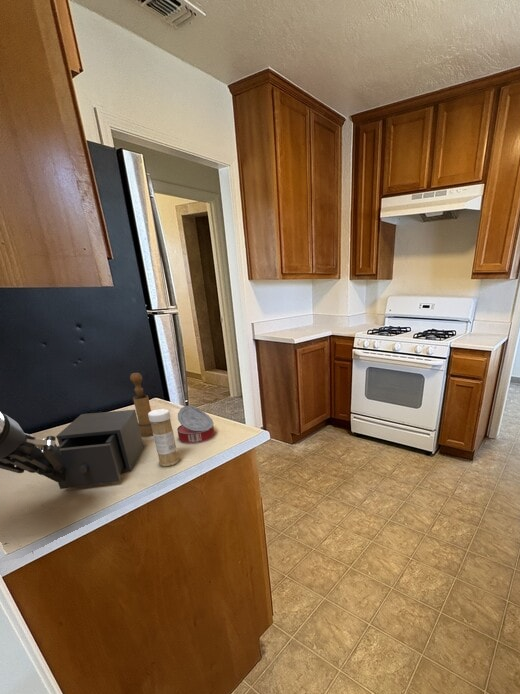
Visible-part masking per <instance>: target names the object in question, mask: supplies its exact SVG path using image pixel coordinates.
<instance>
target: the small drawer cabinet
mask: <svg viewBox="0 0 520 694" xmlns="http://www.w3.org/2000/svg"><path fill="white" fill-rule="evenodd" d="M138 423H139V421H138V417H137V412H136V409H125V410H112V411H104V412H103V411H102V412H101V411H100V412H92V413H82V414H80V415H79V416H77V417H76V418H75V419H74V420H73V421H72V422H70V423H69V424H67V426H66V427H65V428H64V429H62V430H61V431H60V432H59V433H58V434H56V436H55V437H56V439H57V442H58V446H59V445H60V444H61V443H62V442H63V441H64V440H65V439H66V438H76V437H86V436H96V435H106V434H116V433H117V435H118V439H119V443H120V447H121V450H122V454H123V458H124V462H125V466H124V467H123V469H122V471H121V472H120V473H128V472H131V471H132V469H133V468H134V466H135V464H136V462H137V460H138V458H139V456H140V454H141V453H142V451H143V449H144V447H145V445H144V444H145V443H144V440H143V437H142V436H141V432H140V428H139V424H138Z"/></svg>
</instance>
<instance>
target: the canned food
mask: <svg viewBox="0 0 520 694" xmlns="http://www.w3.org/2000/svg"><path fill="white" fill-rule="evenodd" d="M177 420H178V422H179V424H180V425H179V426H177V428H176V431H177V437H178V440H179V442H180V443H184V444H199V443H204V442H207V441H209V440H211V439H213V438H214V437H215V434H216V433H215V428H214V421H213V418H211V416H209V414H207V413H206V412H205V411H203V410H201V409H200V408H199V407H197V406H194V405H185V406H183V407H181V408H179V411H178V412H177Z"/></svg>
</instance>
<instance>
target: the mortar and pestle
mask: <svg viewBox="0 0 520 694" xmlns="http://www.w3.org/2000/svg"><path fill="white" fill-rule="evenodd" d="M129 379H130V381H131V382H132V384H133V385H134V388H133V390H134V393H135V394H136V395H135V396H133V397H132V400H133V405H134V409H135V411H136V415H137V419H138V424H139V428H140V432H141V436H142V438H143V437H144V438H145V437H151V436H153V430H152V426H151V423H150V421H149V417H148V413H149V412H151V411H152V409H151V403H150V400H149V399H150V398H149V395H147V394H144V388H143V387H142V381H143V376H142V374H141V373H140V372H133V373H130V376H129Z"/></svg>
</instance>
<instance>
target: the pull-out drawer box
mask: <svg viewBox="0 0 520 694" xmlns="http://www.w3.org/2000/svg"><path fill="white" fill-rule="evenodd" d="M57 447H58V448H59V450H60V451H61V453H62V454H63V464H62V465H63V467H65V468H66V479H65V481H63V482H57V483H58V486H59V489H60V490H64V489H65V490H66V489H73V488H81V487H88V486H89V487H90V486H95V485H105V484H112V483H113V484H114V483H119V482H121V480H122V478H121V473H122V472H121V471H122V469H123V467H124V466H125V462H124V458H123V454H122V450H121V447H120V443H119V439H118V435H117V433H116V434H106V435H96V436H86V437H76V438H66V439H65V440H64V441H63V442H62V443H61V444H60V445H59V444H58V445H57Z"/></svg>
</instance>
